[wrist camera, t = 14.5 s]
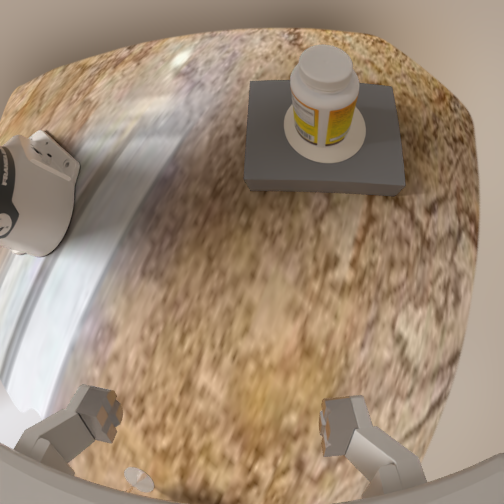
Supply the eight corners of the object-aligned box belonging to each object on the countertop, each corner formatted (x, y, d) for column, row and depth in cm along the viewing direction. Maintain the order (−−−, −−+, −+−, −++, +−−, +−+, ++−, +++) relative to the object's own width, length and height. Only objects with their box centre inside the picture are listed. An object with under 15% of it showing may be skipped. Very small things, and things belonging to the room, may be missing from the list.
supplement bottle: (351, 108, 28) (365, 44, 18) (345, 155, 28) (362, 98, 18) (299, 99, 29) (294, 33, 19) (289, 144, 29) (281, 84, 19)
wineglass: (139, 457, 33) (93, 501, 21) (168, 492, 32) (131, 541, 20) (111, 467, 33) (66, 504, 21) (138, 499, 32) (100, 541, 20)
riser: (250, 190, 33) (243, 178, 29) (255, 99, 34) (249, 80, 30) (394, 196, 31) (406, 185, 27) (384, 104, 32) (392, 85, 27)
